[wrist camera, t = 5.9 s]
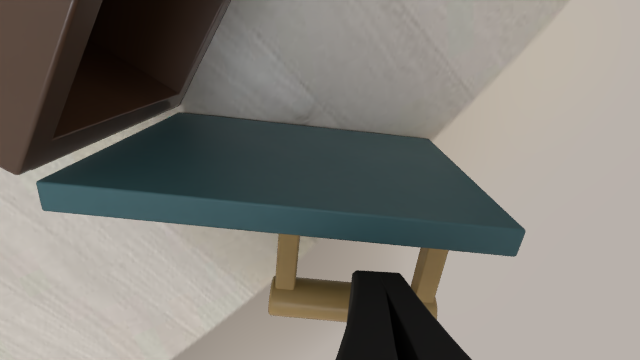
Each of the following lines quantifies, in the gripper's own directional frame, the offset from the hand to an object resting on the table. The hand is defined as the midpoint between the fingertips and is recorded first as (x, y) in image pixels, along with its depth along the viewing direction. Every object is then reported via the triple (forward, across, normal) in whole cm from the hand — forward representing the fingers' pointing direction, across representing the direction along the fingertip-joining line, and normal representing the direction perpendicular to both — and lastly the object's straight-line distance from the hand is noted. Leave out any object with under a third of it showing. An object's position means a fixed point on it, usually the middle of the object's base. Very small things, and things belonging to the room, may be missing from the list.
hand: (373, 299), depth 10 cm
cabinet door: (+8, +3, 0) cm, 8 cm away
